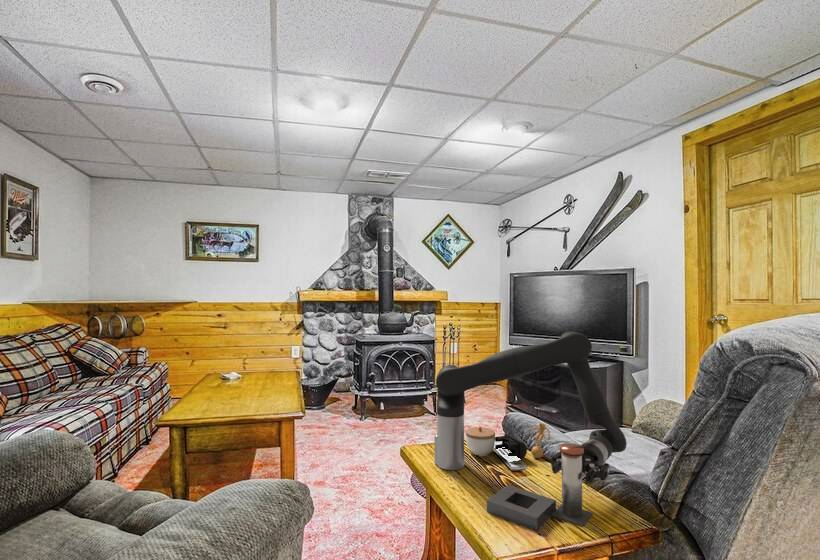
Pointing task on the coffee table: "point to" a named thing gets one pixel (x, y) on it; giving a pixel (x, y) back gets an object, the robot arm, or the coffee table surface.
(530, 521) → the bore housing
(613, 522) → the coffee table surface
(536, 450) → the figurine
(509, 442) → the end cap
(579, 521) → the mat
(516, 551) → the coffee table surface
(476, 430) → the lidded jar
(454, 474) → the coffee table surface
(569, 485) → the capped metal cylinder
